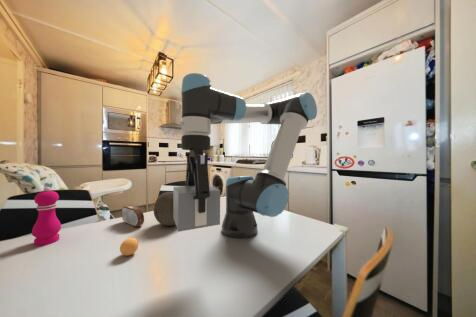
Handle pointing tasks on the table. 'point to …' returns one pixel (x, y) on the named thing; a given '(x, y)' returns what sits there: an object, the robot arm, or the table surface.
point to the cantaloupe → (164, 209)
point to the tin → (132, 215)
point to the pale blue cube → (186, 207)
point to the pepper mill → (46, 218)
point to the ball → (129, 246)
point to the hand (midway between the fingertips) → (195, 217)
